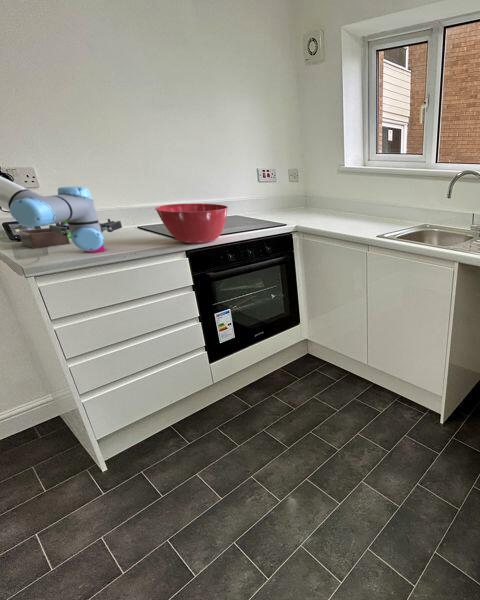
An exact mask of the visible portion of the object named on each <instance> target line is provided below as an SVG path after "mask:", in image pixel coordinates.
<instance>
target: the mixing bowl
mask: <svg viewBox="0 0 480 600" xmlns="http://www.w3.org/2000/svg"><path fill="white" fill-rule="evenodd" d="M228 209H229V207H228V206H227V205H224V204H217V203H173V204H164V205H158V206H156V207H155V208H154V210H155V211H156V212H157V214H158V216H159V219H160V220H161V222H162V224H163V225H164V227H165V228H166V230H167V231H168V232H169V233H170V235H171V236H172V237H173V238H175V239H176V240H178V241H180V242H181V243H183V244H189V245H194V244H195V245H199V244H208V243H212V242H214V241H216V240H217V239H219V237H221V234H222V232H223V230H224V228H225V225H226V220H227V215H228Z"/></svg>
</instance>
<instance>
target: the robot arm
mask: <svg viewBox="0 0 480 600" xmlns="http://www.w3.org/2000/svg"><path fill="white" fill-rule="evenodd" d="M0 208H3V209H5V210H7V211H9V214H10V215H11V217H12V218H13V219H15V221H16V222H17V223H18V224H20V225H22V226H25V227H30V228H34V227H44V226H48V228H50V231H51V233H56V234H61V235H63V236H66V235H69V233H71V235H72V236H71V237H70V239H71V241H72V242H71V243H73V245H74V246H75V247H76V248H78V249H79V250H82V251H84V250H85V251H94V250H97V249H99V248H100V247H101V246H102V245H103V244H104V241H105V237H104V235H103V232H105V231H106V232H108V233H113V232H114V231H118V230H120V229H122V228H123V225H122V222H121V220H117V221H114V220H111V219H110V218H107V219H106V220H107V222H106V221H105V222H102V223H101V222H99V219H98V214H97V211H96V207H95V204H94V199H93V198H92V194H91V192H90V189H89V188H87V187H85V186H84V187H83V186H60V187H58V188H57V194H55V195H45V196H44V195H42V194H39V193H37V192H35V191H33V190H30V189H29V188H26V187H24V186H22V185H20V184H17V183H16V182H13V181H12V180H9V179H7V178H6V177H3V176H1V175H0ZM64 221H67V223H68V225H65V224H64ZM54 224H55V225H56V226H55V225H54ZM85 251H84V252H85Z"/></svg>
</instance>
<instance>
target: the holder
mask: <svg viewBox="0 0 480 600" xmlns="http://www.w3.org/2000/svg"><path fill="white" fill-rule="evenodd" d="M17 233H18V236H19V238H20V242H21V245H23V246H26V247H29V248H31V249H40V248H47V247H54V246H62V245H70V244H71V242H70V239H69V237H68V236H67V235H66V236H63V235H61V234H56V233H51V231H50V228H49V227H46V228H45V227H44V228H34V229H25V230H17Z"/></svg>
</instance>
